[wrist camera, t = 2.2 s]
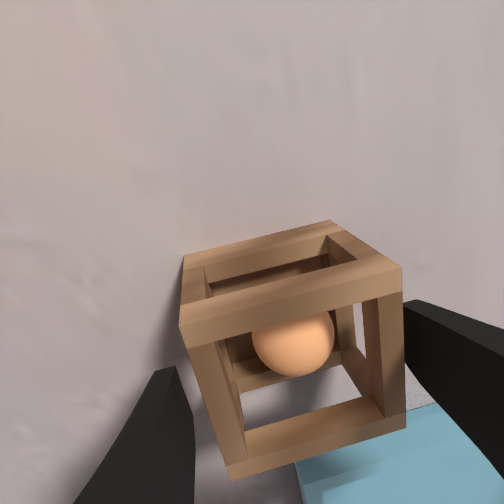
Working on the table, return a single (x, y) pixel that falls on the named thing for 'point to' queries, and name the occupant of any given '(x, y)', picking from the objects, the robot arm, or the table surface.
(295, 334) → the ball
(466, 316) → the robot arm
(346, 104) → the table surface
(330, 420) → the wooden cage puzzle
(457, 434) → the tray
